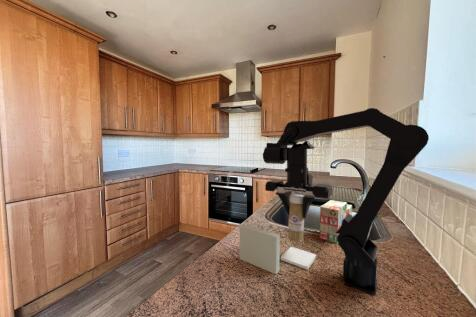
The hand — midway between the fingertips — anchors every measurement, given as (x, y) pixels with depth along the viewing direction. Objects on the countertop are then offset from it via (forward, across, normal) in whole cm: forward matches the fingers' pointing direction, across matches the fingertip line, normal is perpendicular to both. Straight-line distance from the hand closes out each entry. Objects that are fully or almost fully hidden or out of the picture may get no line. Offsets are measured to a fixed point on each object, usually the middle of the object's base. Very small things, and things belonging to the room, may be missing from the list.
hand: (296, 216), depth 59 cm
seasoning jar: (+7, 0, 0) cm, 7 cm away
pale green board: (+13, +8, +10) cm, 18 cm away
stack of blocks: (+13, -6, -28) cm, 32 cm away
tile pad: (+13, 0, 0) cm, 13 cm away
